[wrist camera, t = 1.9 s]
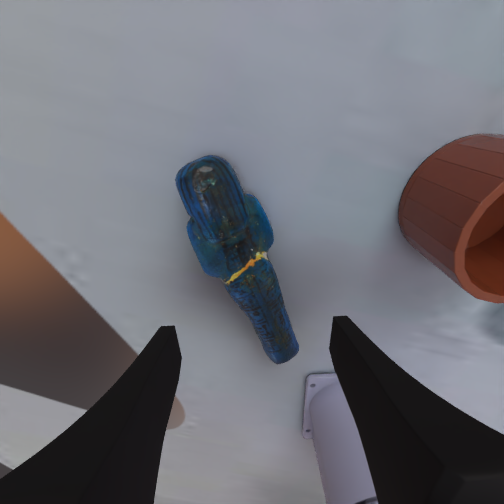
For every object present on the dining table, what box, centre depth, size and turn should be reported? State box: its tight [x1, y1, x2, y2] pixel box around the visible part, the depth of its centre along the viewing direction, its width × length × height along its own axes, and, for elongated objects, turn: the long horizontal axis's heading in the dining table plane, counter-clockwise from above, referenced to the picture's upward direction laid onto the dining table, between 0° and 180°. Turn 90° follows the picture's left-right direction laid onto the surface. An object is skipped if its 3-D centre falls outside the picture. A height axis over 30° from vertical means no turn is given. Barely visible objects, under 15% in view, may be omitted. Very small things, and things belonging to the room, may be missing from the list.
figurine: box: [175, 155, 299, 364], centre depth 18 cm, size 5×4×15 cm
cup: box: [399, 134, 504, 303], centre depth 16 cm, size 8×8×6 cm
